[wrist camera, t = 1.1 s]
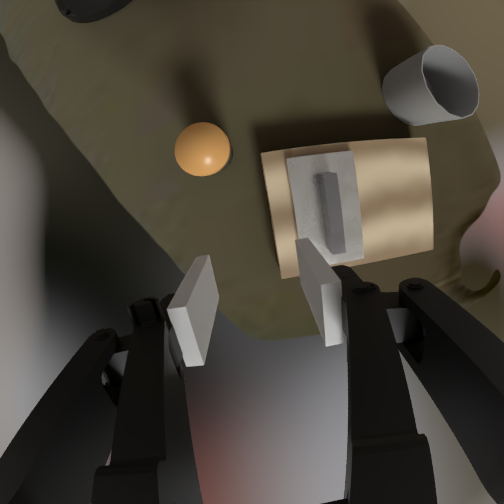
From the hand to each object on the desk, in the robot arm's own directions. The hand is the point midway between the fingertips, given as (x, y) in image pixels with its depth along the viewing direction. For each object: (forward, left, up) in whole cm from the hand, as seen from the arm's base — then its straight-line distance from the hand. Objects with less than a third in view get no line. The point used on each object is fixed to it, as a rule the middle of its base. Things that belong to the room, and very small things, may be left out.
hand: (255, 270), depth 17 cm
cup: (-13, +23, -19) cm, 33 cm away
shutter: (0, +8, -15) cm, 17 cm away
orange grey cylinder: (-8, -3, -19) cm, 21 cm away
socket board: (0, +12, -19) cm, 22 cm away
